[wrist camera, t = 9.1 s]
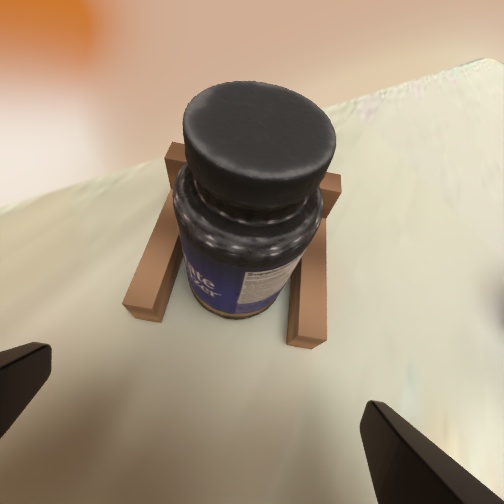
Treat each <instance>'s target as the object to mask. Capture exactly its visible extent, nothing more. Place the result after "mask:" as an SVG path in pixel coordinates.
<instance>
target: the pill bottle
mask: <svg viewBox="0 0 504 504" xmlns="http://www.w3.org/2000/svg"><path fill="white" fill-rule="evenodd" d="M183 136H184V143H185V157H186V160H187V161H186V162H185V163H184V165H183V166H182V167H181V169H180V170H179V173H178V174H177V176H176V180H175V184H174V188H173V194H172V197H173V207H174V212H175V216H176V221H177V226H178V231H179V235H180V240H181V245H182V250H183V255H184V260H185V264H186V269H187V274H188V279H189V283H190V287H191V289H192V291H193V294H194V296H195V297H196V299H197V300H198V301H199V303H200V304H201V305H202V306H203V307H205V308H206V309H208V310H210V311H212V312H216V313H217V314H219V315H220V316H222V317H224V318H230V319H245V318H249V317H252V316H254V315H257V314H259V313H261V312H263V311H265V310H266V309H268V308H269V307H270V305H271V304H272V303H273V302H274V301H275V300H276V298H277V297H278V295H279V293H280V292H281V290H282V288H283V287H284V285H285V283H286V282H287V280H288V278H289V277H290V275H291V273H292V272H293V270H294V268H295V267H296V265H297V263H298V262H299V260H300V258H301V257H302V255H303V253H304V252H305V250H306V249H307V247H308V245H309V244H310V242H311V241H312V239H313V237H314V236H315V233H316V232H317V230H318V228H319V226H320V222H321V219H322V212H323V197H322V192H321V189H320V186H319V185H320V183H321V181H322V180H323V179H324V177H325V174H326V171H327V169H328V167H329V165H330V163H331V160H332V158H333V155H334V152H335V148H336V135H335V130H334V127H333V126H332V124H331V121H330V119H329V118H328V117H327V115H326V114H325V113H324V112H323V111H322V110H321V109H320V108H319V107H318V106H317V105H316V104H314V103H313V102H312V101H310V100H309V99H307V98H305V97H304V96H302V95H300V94H298V93H296V92H294V91H291V90H289V89H287V88H284V87H280V86H277V85H272V84H267V83H263V82H256V81H234V82H226V83H223V84H218V85H216V86H212V87H210V88H208V89H206V90H204V91H202V92H201V93H199V94H198V95H197V96H195V97H194V98H193V99H192V100H191V102H190V103H188V105H187V108H186V109H185V112H184V117H183Z"/></svg>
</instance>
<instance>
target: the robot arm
mask: <svg viewBox="0 0 504 504" xmlns="http://www.w3.org/2000/svg"><path fill="white" fill-rule="evenodd" d="M51 359H52V348H51V346H50V345H49V344H44V343H39V342H32V343H28V344H25V345H22V346H19V347H15V348H12V349H9V350H5V351H2V352H0V439H1V438H2V436H3V435H4V434H5V433H6V431H7V430H8V429H9V428H10V427H11V425H12V424H13V423H14V422H15V420H16V419H17V418H18V416H19V415H20V414H21V413H22V411H23V410H24V409H25V407H26V406H27V405H28V404H29V402H30V401H31V400H32V399H33V397H34V396H35V395H36V393H37V392H38V391H39V390H40V388H41V387H42V386H43V385H44V383H45V382H46V381H47V379H48V378H49V376H50V373H51ZM360 434H361V438H362V442H363V446H364V450H365V454H366V458H367V462H368V466H369V470H370V474H371V478H372V482H373V486H374V490H375V494H376V497H377V501H378V504H504V501H503V500H502V499H501V498H499V497H498V496H497V495H496V494H495V493H493V492H492V491H491V490H490V489H489V488H487V487H486V486H485V485H484V484H482V483H481V482H480V481H479V480H478V479H476V478H475V477H474V476H473V475H472V474H470V473H469V472H468V471H467V470H465V469H464V468H463V467H462V466H461V465H459V464H458V463H457V462H456V461H455V460H453V459H452V458H451V457H450V456H448V455H447V454H446V453H445V452H444V451H442V450H441V449H440V448H439V447H438V446H436V445H435V444H434V443H433V442H432V441H430V440H429V439H428V438H427V437H425V436H424V435H423V434H422V433H421V432H419V431H418V430H417V429H416V428H415V427H413V426H412V425H411V424H410V423H408V422H407V421H406V420H405V419H404V418H402V417H401V416H400V415H399V414H398V413H396V412H395V411H394V410H393V409H392V408H390V407H389V406H388V405H387V404H385V403H384V402H379V401H374V400H370V401H368V402H367V404H366V407H365V410H364V413H363V416H362V419H361V422H360Z"/></svg>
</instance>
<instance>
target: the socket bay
mask: <svg viewBox="0 0 504 504" xmlns="http://www.w3.org/2000/svg"><path fill="white" fill-rule="evenodd" d="M164 159H165V163H166V168H167V173H168V177H169V182H170V187H171V190H170V192H169V195H168V197H167V199H166V202H165V204H164V206H163V209H162V211H161V213H160V216H159V218H158V220H157V223H156V225H155V227H154V230H153V232H152V235H151V237H150V239H149V242H148V244H147V246H146V249H145V251H144V253H143V256H142V258H141V260H140V263H139V265H138V267H137V270H136V272H135V274H134V277H133V279H132V281H131V284H130V286H129V289H128V291H127V293H126V296H125V298H124V300H123V303H122V304H123V305H124V306H125V307H126V309H127V310H128V311H129V312H130V313H131V314H132V315H133V316H134V317H135V318H138V319H144V320H149V321H155V322H161V321H162V318H163V315H164V312H165V309H166V306H167V303H168V300H169V297H170V294H171V291H172V288H173V285H174V282H175V279H176V276H177V273H178V270H179V267H180V264H181V261H182V258H183V250H182V245H181V240H180V235H179V231H178V226H177V221H176V216H175V212H174V207H173V197H172V194H173V188H174V184H175V180H176V176H177V174H178V173H179V170H180V169H181V167H182V166H183V165H184V163H185V162H186V161H187V160H186V157H185V144H181V143H176V142H172V143H171V146H170V147H169V150H168V152H167V154H166V156H165V158H164ZM319 186H320V189H321V192H322V197H323V212H322V219H321V222H320V226H319V228H318V230H317V232H316V233H315V236H314V237H313V239H312V241H311V242H310V244H309V245H308V247H307V249H306V250H305V252H304V253H303V255H302V257H301V258H300V260H299V262H298V263H297V265H296V267H295V268H294V270H293V272H292V277H291V291H290V306H289V320H288V334H287V345H291V346H296V347H302V348H308V349H313V348H314V347H316V346H318V345H320V344H321V343H323V342H325V341H327V288H326V218H327V216H328V214H329V213H330V211H331V209H332V208H333V206H334V204H335V203H336V201H337V199H338V197H339V196H340V194H341V175H339V174H333V173H328V172H326V174H325V177H324V179H323V180H322V181H321V183H320V185H319Z"/></svg>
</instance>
